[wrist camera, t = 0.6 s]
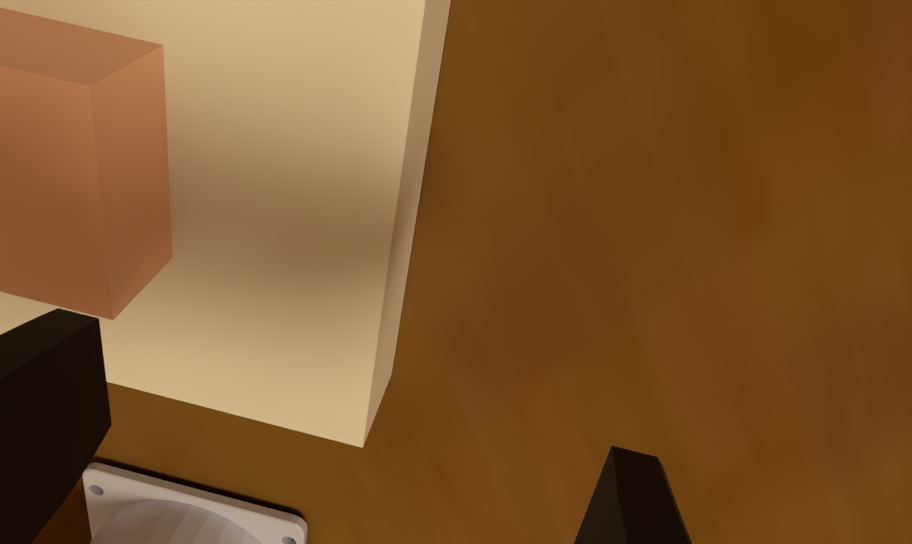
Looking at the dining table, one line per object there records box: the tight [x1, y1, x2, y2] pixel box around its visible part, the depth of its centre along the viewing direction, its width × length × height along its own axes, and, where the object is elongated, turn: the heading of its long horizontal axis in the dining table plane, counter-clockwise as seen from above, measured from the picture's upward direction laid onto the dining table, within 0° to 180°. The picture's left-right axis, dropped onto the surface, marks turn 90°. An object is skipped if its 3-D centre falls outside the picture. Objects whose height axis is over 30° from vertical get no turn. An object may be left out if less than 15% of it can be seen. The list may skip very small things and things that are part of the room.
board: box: [0, 0, 451, 448], centre depth 18 cm, size 14×18×3 cm
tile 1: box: [0, 8, 173, 320], centre depth 16 cm, size 5×5×2 cm
